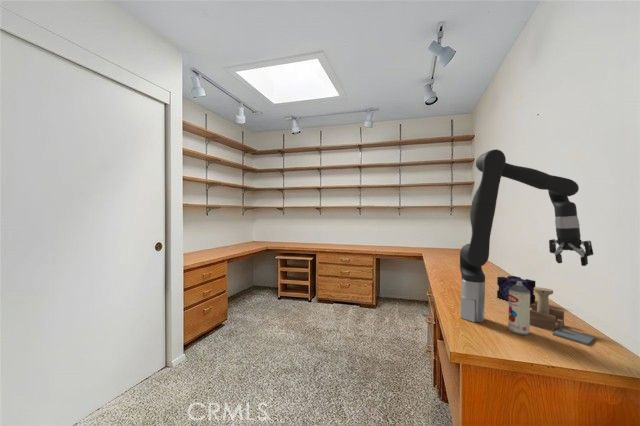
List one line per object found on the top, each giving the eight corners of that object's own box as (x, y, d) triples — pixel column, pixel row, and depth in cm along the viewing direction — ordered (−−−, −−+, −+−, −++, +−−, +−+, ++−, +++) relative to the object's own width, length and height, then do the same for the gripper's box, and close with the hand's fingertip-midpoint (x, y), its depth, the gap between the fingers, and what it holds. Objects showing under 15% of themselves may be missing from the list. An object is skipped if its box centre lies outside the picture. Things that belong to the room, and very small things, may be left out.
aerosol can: (504, 327, 111) (505, 279, 111) (522, 328, 110) (522, 279, 110) (515, 334, 104) (516, 283, 104) (533, 335, 104) (534, 284, 104)
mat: (588, 345, 96) (588, 343, 96) (552, 334, 105) (552, 332, 105) (595, 338, 102) (595, 336, 102) (560, 328, 110) (560, 327, 110)
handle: (552, 327, 111) (553, 291, 111) (532, 323, 116) (533, 288, 116) (552, 324, 115) (553, 289, 115) (533, 320, 119) (534, 286, 119)
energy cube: (497, 298, 150) (497, 277, 150) (512, 296, 153) (513, 275, 153) (518, 305, 138) (518, 282, 138) (535, 303, 142) (535, 281, 142)
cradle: (554, 331, 107) (554, 317, 107) (522, 322, 116) (522, 308, 116) (564, 325, 114) (564, 311, 114) (532, 316, 123) (532, 303, 123)
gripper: (542, 227, 120) (547, 263, 120) (582, 227, 107) (587, 268, 106) (553, 225, 123) (557, 261, 122) (593, 225, 109) (598, 265, 109)
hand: (571, 264), depth 114 cm, fingers open, 8 cm apart
